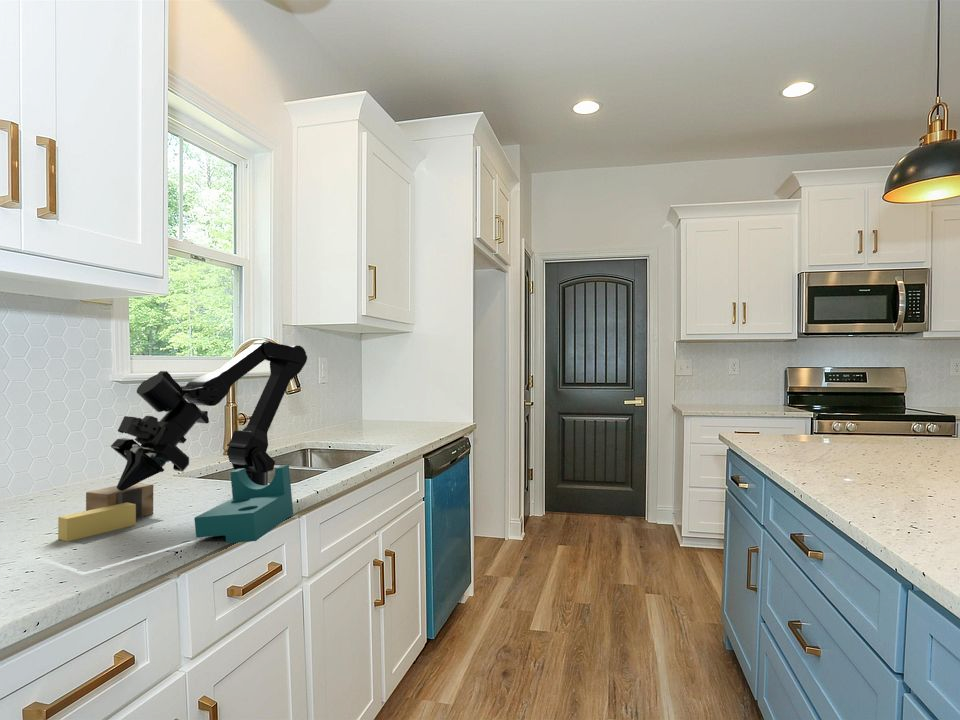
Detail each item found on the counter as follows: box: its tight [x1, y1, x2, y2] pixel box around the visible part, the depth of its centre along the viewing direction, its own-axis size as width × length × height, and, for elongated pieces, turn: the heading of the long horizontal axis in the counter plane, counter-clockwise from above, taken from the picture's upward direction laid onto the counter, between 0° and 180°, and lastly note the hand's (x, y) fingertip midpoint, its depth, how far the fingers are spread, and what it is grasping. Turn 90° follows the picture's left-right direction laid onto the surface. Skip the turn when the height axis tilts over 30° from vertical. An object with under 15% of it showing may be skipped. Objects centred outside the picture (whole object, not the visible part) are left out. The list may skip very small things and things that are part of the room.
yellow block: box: [57, 502, 136, 542], centre depth 107 cm, size 4×3×12 cm
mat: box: [60, 516, 164, 545], centre depth 109 cm, size 16×6×1 cm, turn 159°
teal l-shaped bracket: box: [193, 464, 294, 544], centre depth 111 cm, size 18×11×10 cm, turn 177°
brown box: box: [85, 482, 154, 518], centre depth 116 cm, size 10×7×6 cm, turn 159°
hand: (119, 489), depth 110 cm, fingers closed
